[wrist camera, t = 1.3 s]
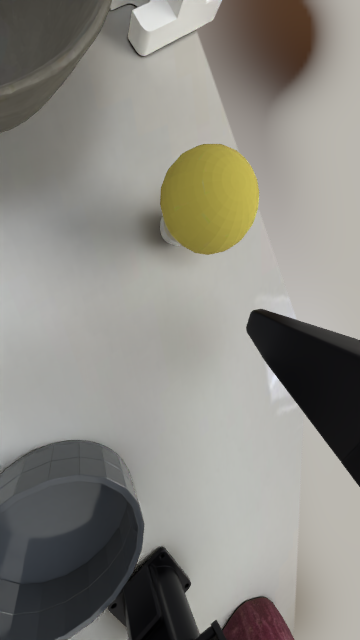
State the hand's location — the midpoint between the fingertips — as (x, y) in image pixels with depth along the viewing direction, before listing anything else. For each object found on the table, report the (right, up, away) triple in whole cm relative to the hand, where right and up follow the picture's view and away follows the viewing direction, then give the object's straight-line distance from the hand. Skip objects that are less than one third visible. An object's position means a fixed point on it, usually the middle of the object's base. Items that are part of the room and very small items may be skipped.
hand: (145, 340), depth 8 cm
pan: (-9, -15, +12) cm, 21 cm away
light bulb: (0, +9, +14) cm, 17 cm away
